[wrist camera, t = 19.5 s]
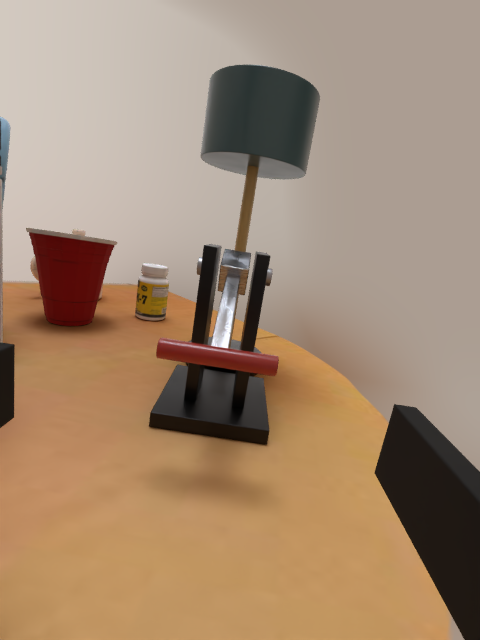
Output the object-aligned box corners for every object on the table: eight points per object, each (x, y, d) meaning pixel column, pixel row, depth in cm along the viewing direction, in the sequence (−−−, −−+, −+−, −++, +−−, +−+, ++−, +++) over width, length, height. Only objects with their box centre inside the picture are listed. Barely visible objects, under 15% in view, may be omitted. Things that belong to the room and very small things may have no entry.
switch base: (266, 444, 26) (302, 262, 23) (148, 426, 26) (168, 241, 23) (261, 388, 36) (286, 255, 33) (175, 375, 36) (192, 240, 33)
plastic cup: (117, 314, 54) (123, 237, 52) (103, 335, 44) (109, 240, 41) (42, 306, 52) (45, 225, 49) (9, 326, 42) (9, 224, 39)
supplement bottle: (130, 313, 56) (135, 261, 54) (157, 313, 59) (162, 264, 57) (142, 321, 53) (147, 266, 51) (170, 320, 56) (176, 269, 54)
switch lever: (272, 387, 21) (280, 358, 19) (156, 369, 21) (155, 339, 19) (274, 281, 30) (279, 257, 29) (194, 269, 30) (196, 243, 29)
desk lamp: (166, 373, 36) (203, 54, 29) (185, 342, 46) (215, 104, 40) (271, 390, 36) (331, 76, 29) (265, 355, 47) (309, 120, 40)
